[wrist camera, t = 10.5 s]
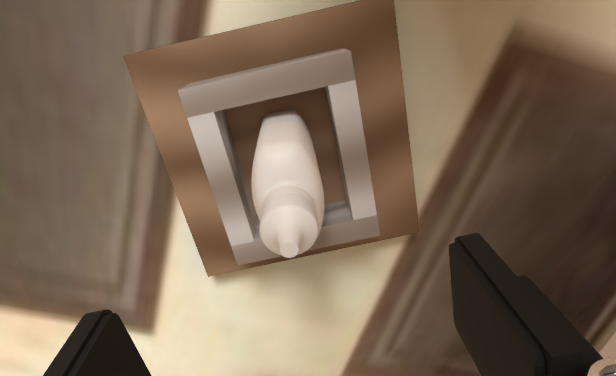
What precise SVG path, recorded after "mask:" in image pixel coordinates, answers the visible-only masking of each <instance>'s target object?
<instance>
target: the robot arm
mask: <svg viewBox="0 0 616 376" xmlns="http://www.w3.org/2000/svg"><path fill="white" fill-rule="evenodd" d="M449 257H450V271H451V285H452V300H453V314H454V322H455V326H456V328H457V331H458V333H459V335H460V337H461V339H462V340H463V342H464V344H465V346H466V348H467V350H468V351H469V353H470V355H471V357H472V359H473V361H474V363H475V364H476V366H477V368H478V370H479V372H480V374H481V375H482V376H616V357H609V358H605V359H603V358H602V357H601V355H600V354H599V353H598V352H597V351H596V350H595V349H594V348H593V347H592V346H591V345H590V344H589V342H588V341H587V340H586V339H585V338H584V337H583V336H582V335H581V334H580V333H579V332H578V331H577V329H576V328H575V327H574V326H573V325H572V324H571V323H570V322H569V321H568V320H567V319H566V318H565V317H564V315H563V314H562V313H561V312H560V311H559V310H558V309H557V308H556V307H555V306H554V305H553V304H552V302H551V301H550V300H549V299H548V298H547V297H546V296H545V295H544V294H543V293H542V292H541V291H540V289H539V288H538V287H537V286H536V285H535V284H534V283H533V282H532V281H531V280H530V279H529V278H528V277H526V276H523V275H521V276H516V275H515V274H514V273H513V272H512V270H511V269H510V268H509V267H508V266H507V265H506V264H505V263H504V261H503V260H502V259H501V258H500V257H499V256H498V255H497V253H496V252H495V251H494V250H493V249H492V248H491V247H490V246H489V244H488V243H487V242H486V241H485V240H484V239H483V238H482V237H481V235H479V234H478V233H474V234H469V235H464V236H459V237H456V238H455V243H452V244H450V245H449ZM43 376H151V374H150V372H149V370H148V369H147V367H146V365H145V363H144V361H143V359H142V358H141V356H140V354H139V352H138V350H137V348H136V347H135V345H134V343H133V341H132V339H131V337H130V335H129V334H128V332H127V330H126V328H125V326H124V324H123V323H122V321H121V319H120V317H119V316H118V315H117V314H116V313H112V311H110V310H101V311H97V312H92V313H87V314H85V315H84V316H83V317H82V319H81V320H80V322H79V323H78V325H77V326H76V328H75V329H74V331H73V332H72V333H71V335H70V336H69V338H68V339H67V341H66V342H65V344H64V345H63V347H62V348H61V350H60V351H59V353H58V354H57V356H56V357H55V359H54V360H53V362H52V363H51V365H50V366H49V367H48V369H47V370H46V372H45V373H44V375H43Z"/></svg>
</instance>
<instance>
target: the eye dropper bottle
mask: <svg viewBox="0 0 616 376" xmlns="http://www.w3.org/2000/svg"><path fill="white" fill-rule="evenodd" d="M251 185H252V197H253V202H254V206H255V210H256V213H257V216H258V218H259V220H260V225H259V234H260V237H261V240H262V242H263V244H265V246H266V247H267V248H268V249H269V250H271V251H272V252H274V253H277V254H279V255H282V256H284V257H286V258H292V257H295V256H296V255H298V254H301V253H304V252H305V251H306V250H309V248H311V246H313V244H314V242H315V241H316V239H317V237H318V235H319V233H320V230H321V227H322V223H323V217H324V192H323V186H322V181H321V176H320V172H319V167H318V163H317V158H316V154H315V150H314V145H313V141H312V138H311V135H310V132H309V130H308V128H307V126H306V124H305V122H304V120H303V119H302V117H301V116H300V114H299V113H298V112H296V111H295V110H285V111H279V112H274V113H269V114H267V115H266V116H265V117H264V119H263V121H262V125H261V129H260V133H259V137H258V141H257V146H256V150H255V155H254V160H253V167H252V178H251Z"/></svg>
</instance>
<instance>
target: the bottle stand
mask: <svg viewBox="0 0 616 376" xmlns="http://www.w3.org/2000/svg"><path fill="white" fill-rule="evenodd" d="M123 57H124V60H125V62H126V65H127V67H128V70H129V73H130V75H131V78H132V80H133V83H134V86H135V88H136V91H137V93H138V96H139V99H140V101H141V104H142V106H143V109H144V112H145V114H146V117H147V119H148V122H149V124H150V127H151V130H152V132H153V135H154V137H155V140H156V143H157V145H158V148H159V150H160V153H161V156H162V158H163V161H164V163H165V166H166V169H167V171H168V174H169V176H170V179H171V182H172V184H173V187H174V189H175V192H176V195H177V197H178V200H179V202H180V205H181V208H182V210H183V213H184V215H185V218H186V220H187V223H188V226H189V228H190V231H191V233H192V236H193V239H194V241H195V244H196V246H197V249H198V252H199V254H200V257H201V259H202V262H203V265H204V267H205V270H206V272H207V275H208V277H209V276H214V275H218V274H223V273H228V272H233V271H237V270H242V269H247V268H252V267H256V266H261V265H266V264H271V263H275V262H280V261H285V260H289V259H294V258H299V257H304V256H308V255H313V254H318V253H323V252H327V251H332V250H337V249H342V248H346V247H351V246H356V245H361V244H365V243H370V242H375V241H379V240H384V239H389V238H394V237H398V236H403V235H408V234H413V233H417V232H419V223H418V214H417V205H416V196H415V187H414V178H413V169H412V160H411V151H410V142H409V133H408V124H407V115H406V106H405V98H404V89H403V80H402V71H401V62H400V53H399V44H398V35H397V26H396V17H395V8H394V0H360V1H356V2H352V3H347V4H343V5H339V6H335V7H330V8H326V9H322V10H317V11H313V12H309V13H305V14H300V15H296V16H292V17H287V18H283V19H279V20H275V21H270V22H266V23H262V24H257V25H253V26H249V27H245V28H240V29H236V30H232V31H227V32H223V33H219V34H215V35H210V36H206V37H202V38H197V39H193V40H189V41H185V42H180V43H176V44H172V45H167V46H163V47H159V48H155V49H150V50H146V51H142V52H137V53H133V54H129V55H125V56H123ZM285 110H295V111H296V112H298V113H299V114H300V116H301V117H302V119H303V120H304V122H305V124H306V126H307V128H308V130H309V132H310V135H311V138H312V141H313V145H314V150H315V154H316V158H317V163H318V167H319V172H320V176H321V181H322V186H323V192H324V217H323V223H322V227H321V230H320V233H319V235H318V237H317V239H316V241H315V242H314V244H313V246H311V248H309V250H306V251H305V252H304V253H301V254H298V255H296V256H295V257H292V258H286V257H284V256H282V255H279V254H277V253H274V252H272V251H271V250H269V249H268V248H267V247H266V246H265V244H263V242H262V240H261V237H260V234H259V225H260V220H259V218H258V216H257V213H256V210H255V206H254V202H253V197H252V185H251V178H252V167H253V160H254V155H255V150H256V146H257V141H258V137H259V133H260V129H261V125H262V121H263V119H264V117H265V116H266V115H267V114H269V113H274V112H279V111H285Z"/></svg>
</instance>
